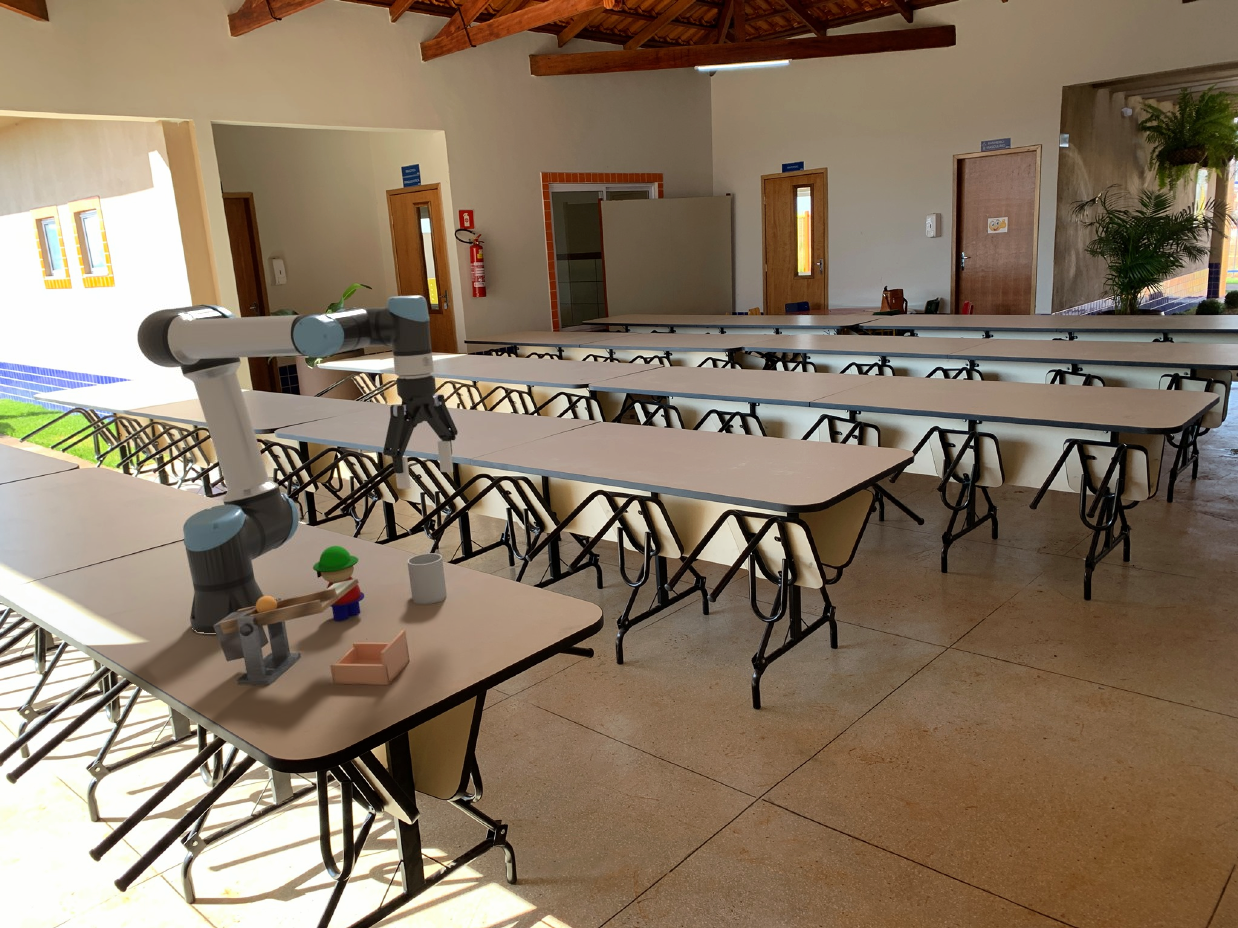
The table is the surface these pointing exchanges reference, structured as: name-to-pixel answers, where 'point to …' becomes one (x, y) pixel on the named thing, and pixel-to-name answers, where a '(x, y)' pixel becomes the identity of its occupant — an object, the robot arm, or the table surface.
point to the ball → (266, 604)
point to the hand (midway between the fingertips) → (426, 479)
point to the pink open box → (372, 662)
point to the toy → (340, 580)
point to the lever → (277, 616)
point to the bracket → (255, 665)
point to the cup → (427, 578)
